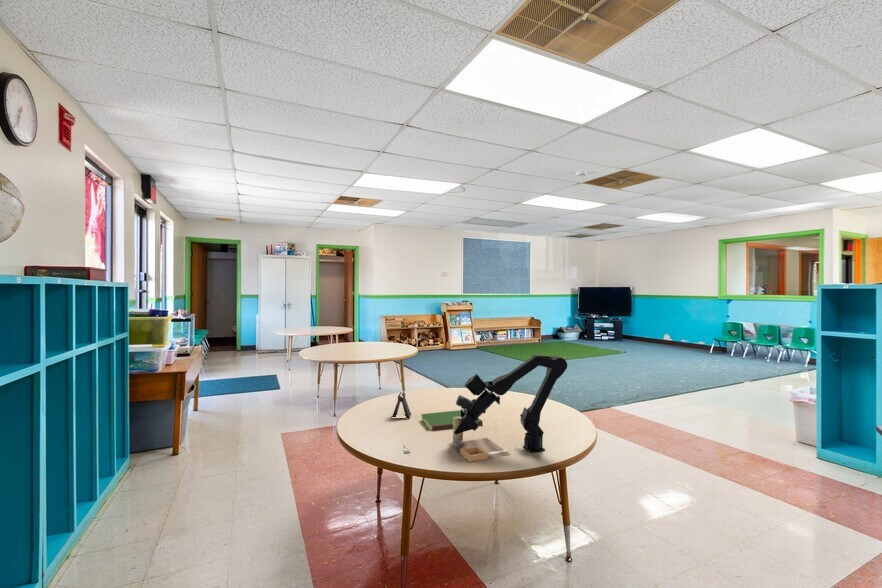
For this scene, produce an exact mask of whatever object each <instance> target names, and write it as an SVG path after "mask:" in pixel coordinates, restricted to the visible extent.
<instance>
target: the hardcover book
mask: <svg viewBox="0 0 882 588" xmlns="http://www.w3.org/2000/svg"><path fill="white" fill-rule="evenodd" d="M420 415H421V422H422V421H423V422H424V423H425V424H424V423H423V422H422V423H423V424H424V426H426V428H427V429H428V430H429V429H430V430H431V432H434V431H444V430H445V431H446V430H453V417H460V415H461V409H460V410H450V411H449V410H447V411H440V412H439V411H438V412H437V411H436V412H430V413H429V412H428V413H420ZM477 422H478V427H479V426H480V427H483V426H484V425H483V420H482V419H481V418H480V417H478V420H477ZM430 430H429V431H430Z"/></svg>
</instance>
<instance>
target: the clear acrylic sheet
mask: <svg viewBox="0 0 882 588" xmlns="http://www.w3.org/2000/svg"><path fill="white" fill-rule="evenodd" d="M448 445H449V446H450V447H451V448H452V450H454V451H455V452H456V453H458V454H459V455H460V456H461V457H463V456H462V455H461V454H460V449H463V448H469V447H475V446H479V447H480V448H481V449H483V450H484V451H485V452H487V453H488V459H484V460H483V461H485V460H489V459H490V460H491V459H496V458H501V457H507V456H511V455H512V454H511V453H510V452H508V451H507V450H506V449H504V448H503V447H501V446H500V445H498V444H497V443H495V442H494V441H492V440H491V439H490V438H488V437H484V438H478V439H470V440H463V446H462V447H454V446H453V442H452V443H451V442H450V443H448ZM474 454H478V453H471V454H470V455H474ZM463 458H464V460H466V462H468V463H470V462H469V461H468V460H467V459H466V458H465V457H463ZM479 461H481V460H478V461H477V462H479ZM473 462H476V461H472V462H471V463H473Z"/></svg>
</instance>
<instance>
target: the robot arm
mask: <svg viewBox="0 0 882 588" xmlns="http://www.w3.org/2000/svg"><path fill="white" fill-rule="evenodd" d="M539 366H540V367H544V368H546V371H545V376H544V377H543V380H542V381H541V385H540V386H539V388H538V390H537V392H536V394H535V397H534V398H533V399H532V403H531V405H530V406H529V407H528V408H527V407H524V408H523V410H522V413H521V414H520V415H519V417H520V420H519V422H520V424H521V425H522V428H523V429H524V430H525V431H526V432H524V439H523V440H524V441H523V443H524V444H523V445H522V448H523V449H525V450H527V451H529V452H530V453H537V452H544V451H545V450H546V448H545V447H543V441H544V440H543V436H544V433H545V432H544V430H543V429H542V428H541V426H540V425H539V424H540V421H541V420H540V419H541V413H542V410H543V408H544V406H545V404H546V402H547V400H548V398H549V396H550V394H551V392H552V390H553V389H554V386H555V385H556V382H557V380H558V379H560V378H561V377H562V375H563V374H564V373H565V371H566V370H567V369H568V362H567V361H566V359H565V358H563V357H561V356H559V355H552V356H549V355H539V354H533V355H532V356H531V357H529V358H528V359H527V360H526V361H524V362H522V363H521V364H519V365H518V366H517V367H516V368H514V369H513V370H512V371H510V372H509V373H505V374H503V375H500V376H498V377H495V378H494V379H493V380H490V381H488V380H487V381H484V380H483V379H482V378H481V377H480V376H479V374H478V373H475V374H474V375H473V376H471V377H469V378H468V379H467V381H465V383H464V387H465V388H466V389H467V390H468V391H469V392H470V393H471V394H472V395H473V396H478V397H476V398H472V400H471V399H469V398H468V397H465V396H463V395H461V394H459V395H458V397H457V399H456V401H455V404H456V406H458V407H461V409H460V410H461V415H460V417H462V422H461V423H460V425H459V426H458V427H457V429H456V430H455V432H454V433H455V434H459V433H462V432H463V433H464V432H467V431H474V432H475V431H476V430H477V429H478V428H479V426H478V422H477V420H478V418H480V417H481V416H482V415H483V414H486V413H487V409H489V408H490V407H491V406H492V405H493V404H494V403H495V402H496V404H498V405H500V404H501V397H500V396H504V395H505V394H507V392H508V391H510V389H511V388H512V387H513V386H514V385H515V383H516V382H518V381H519V380H521V379H522V378H523V377H525V376H526V375H528V374H529V373H531V372H532V371H534V370H535V369H536V368H537V367H539Z"/></svg>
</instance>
